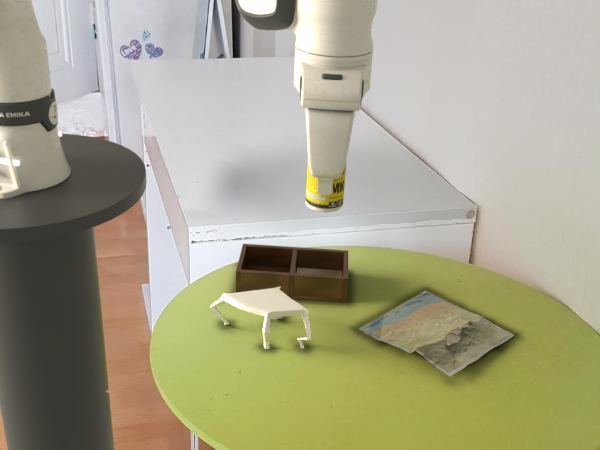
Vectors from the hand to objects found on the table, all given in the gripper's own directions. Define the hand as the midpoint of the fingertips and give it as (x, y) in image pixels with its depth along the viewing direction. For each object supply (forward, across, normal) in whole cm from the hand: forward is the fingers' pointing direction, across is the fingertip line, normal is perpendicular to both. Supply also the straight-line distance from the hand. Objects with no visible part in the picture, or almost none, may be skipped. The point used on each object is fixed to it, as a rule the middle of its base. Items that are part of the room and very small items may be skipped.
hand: (325, 182), depth 92 cm
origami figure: (+15, +12, -7) cm, 20 cm away
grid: (+15, 0, -3) cm, 15 cm away
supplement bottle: (+3, 0, 0) cm, 3 cm away
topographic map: (+15, +9, +15) cm, 23 cm away
